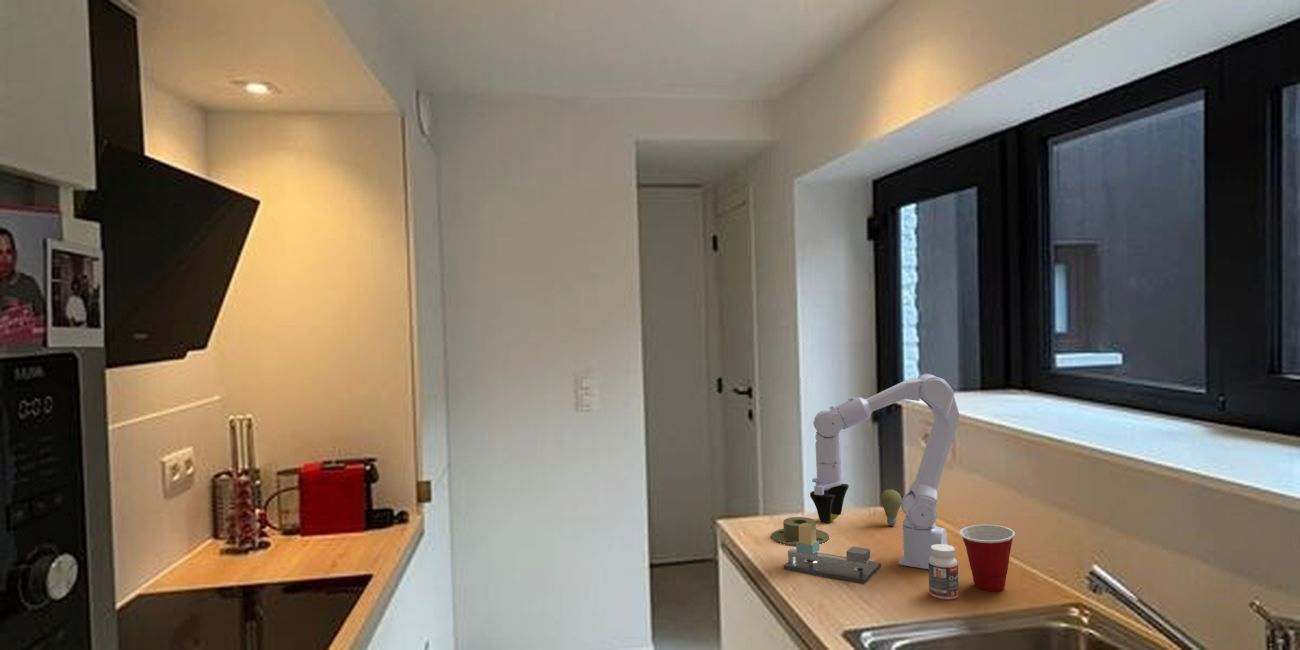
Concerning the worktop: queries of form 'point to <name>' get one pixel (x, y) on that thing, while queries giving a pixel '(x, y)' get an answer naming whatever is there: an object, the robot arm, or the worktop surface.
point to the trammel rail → (839, 558)
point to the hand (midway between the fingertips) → (830, 518)
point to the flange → (796, 531)
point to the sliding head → (807, 539)
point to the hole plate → (832, 569)
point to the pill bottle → (943, 572)
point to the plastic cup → (988, 554)
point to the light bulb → (891, 505)
